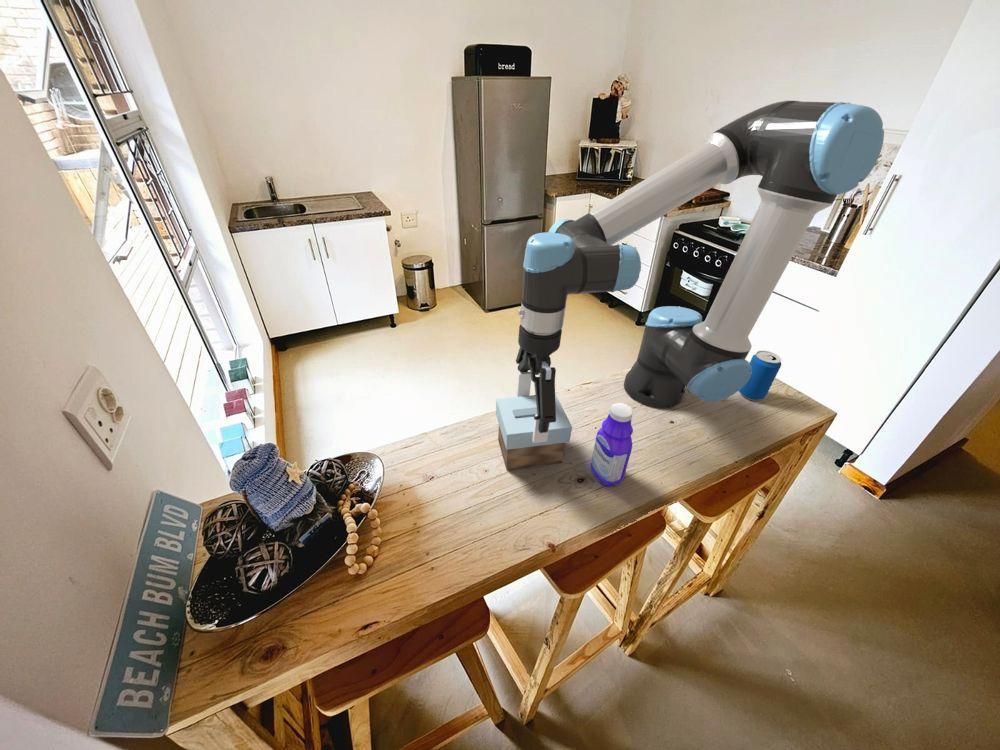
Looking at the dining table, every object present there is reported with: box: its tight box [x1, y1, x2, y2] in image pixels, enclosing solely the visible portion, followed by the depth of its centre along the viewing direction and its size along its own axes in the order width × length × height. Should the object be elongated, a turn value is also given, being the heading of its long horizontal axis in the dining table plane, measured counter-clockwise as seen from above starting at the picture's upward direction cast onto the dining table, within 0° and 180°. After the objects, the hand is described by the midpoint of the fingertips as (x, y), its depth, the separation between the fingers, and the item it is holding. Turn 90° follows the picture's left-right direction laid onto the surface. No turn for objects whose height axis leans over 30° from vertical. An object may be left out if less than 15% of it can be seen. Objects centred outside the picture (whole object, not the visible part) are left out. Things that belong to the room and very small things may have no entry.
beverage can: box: [738, 350, 782, 402], centre depth 106 cm, size 6×6×12 cm
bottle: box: [590, 402, 634, 487], centre depth 80 cm, size 7×6×17 cm
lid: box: [495, 392, 573, 450], centre depth 85 cm, size 13×11×4 cm
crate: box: [497, 425, 566, 471], centre depth 88 cm, size 12×9×7 cm
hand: (530, 418), depth 85 cm, fingers open, 13 cm apart
